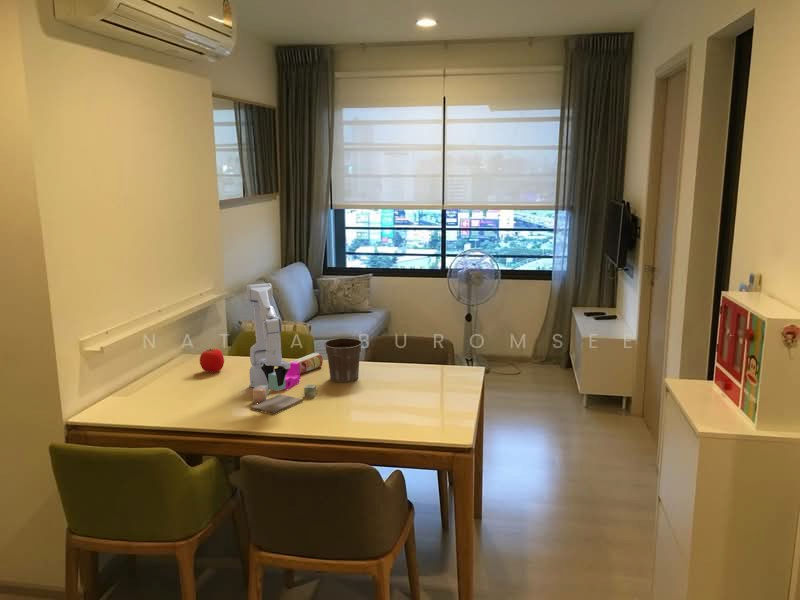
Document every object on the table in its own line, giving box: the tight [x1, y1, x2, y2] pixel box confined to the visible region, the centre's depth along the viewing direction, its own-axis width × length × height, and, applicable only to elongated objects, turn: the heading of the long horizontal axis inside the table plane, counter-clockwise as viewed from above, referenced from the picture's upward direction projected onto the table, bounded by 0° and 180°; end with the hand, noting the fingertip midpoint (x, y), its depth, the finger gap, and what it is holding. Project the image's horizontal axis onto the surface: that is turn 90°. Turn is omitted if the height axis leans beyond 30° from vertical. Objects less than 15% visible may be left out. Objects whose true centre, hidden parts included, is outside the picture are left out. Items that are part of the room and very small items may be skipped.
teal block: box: [268, 372, 286, 392], centre depth 243 cm, size 4×4×6 cm
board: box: [250, 393, 304, 415], centre depth 244 cm, size 12×16×1 cm
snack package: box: [285, 352, 324, 375], centre depth 286 cm, size 21×7×7 cm, turn 143°
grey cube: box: [254, 385, 269, 397], centre depth 255 cm, size 4×4×4 cm
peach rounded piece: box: [252, 387, 267, 404], centre depth 249 cm, size 5×5×5 cm
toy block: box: [274, 361, 301, 391], centre depth 269 cm, size 15×6×8 cm, turn 158°
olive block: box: [303, 384, 317, 398], centre depth 254 cm, size 4×4×4 cm
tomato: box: [199, 348, 225, 373], centre depth 289 cm, size 10×11×11 cm
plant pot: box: [324, 337, 363, 383], centre depth 274 cm, size 16×16×16 cm
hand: (275, 384), depth 243 cm, fingers closed on teal block, 4 cm apart
